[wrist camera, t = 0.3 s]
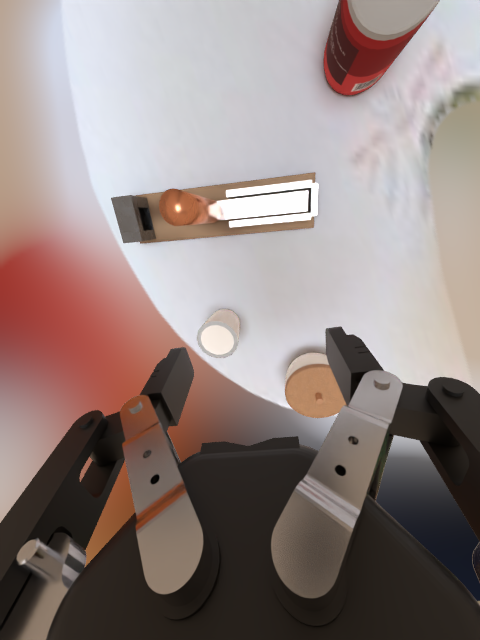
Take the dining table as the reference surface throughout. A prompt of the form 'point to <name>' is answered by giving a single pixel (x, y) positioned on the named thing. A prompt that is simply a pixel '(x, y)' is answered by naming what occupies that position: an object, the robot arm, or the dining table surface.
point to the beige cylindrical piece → (219, 334)
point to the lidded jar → (313, 387)
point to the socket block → (133, 218)
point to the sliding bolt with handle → (226, 207)
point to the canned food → (369, 40)
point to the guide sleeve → (277, 189)
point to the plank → (222, 226)
